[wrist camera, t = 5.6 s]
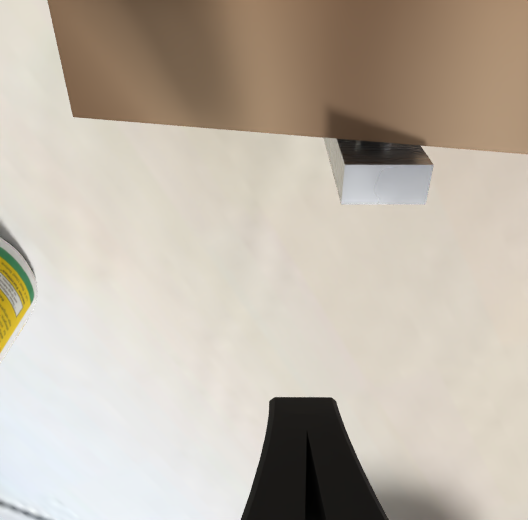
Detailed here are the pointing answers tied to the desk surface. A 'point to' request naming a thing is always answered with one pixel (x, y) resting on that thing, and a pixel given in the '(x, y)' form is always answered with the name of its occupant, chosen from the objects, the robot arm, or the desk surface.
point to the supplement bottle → (14, 295)
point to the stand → (379, 172)
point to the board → (305, 67)
